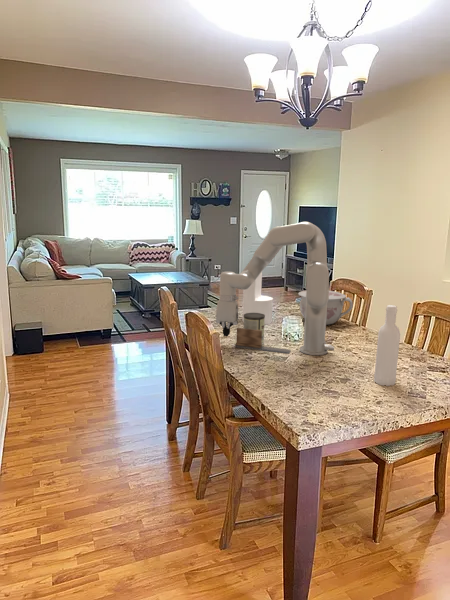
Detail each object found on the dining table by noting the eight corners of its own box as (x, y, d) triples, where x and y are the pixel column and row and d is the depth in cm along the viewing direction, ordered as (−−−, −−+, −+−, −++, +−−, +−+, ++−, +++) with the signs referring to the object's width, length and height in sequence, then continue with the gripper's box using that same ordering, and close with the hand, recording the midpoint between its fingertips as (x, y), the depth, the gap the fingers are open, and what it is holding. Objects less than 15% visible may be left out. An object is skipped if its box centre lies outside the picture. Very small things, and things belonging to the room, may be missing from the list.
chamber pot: (287, 319, 269) (289, 284, 265) (324, 315, 280) (326, 282, 276) (315, 330, 244) (317, 293, 240) (355, 326, 255) (357, 290, 251)
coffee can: (243, 339, 224) (244, 312, 222) (264, 340, 224) (265, 313, 221) (242, 345, 214) (242, 317, 212) (263, 346, 213) (264, 317, 211)
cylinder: (239, 323, 256) (240, 274, 251) (246, 316, 272) (247, 270, 267) (268, 326, 251) (270, 276, 246) (274, 319, 268) (276, 272, 262)
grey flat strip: (290, 351, 207) (290, 349, 207) (288, 353, 204) (289, 352, 204) (237, 345, 215) (237, 343, 215) (235, 347, 212) (235, 345, 212)
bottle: (378, 376, 178) (385, 302, 172) (398, 381, 173) (406, 305, 167) (370, 382, 172) (377, 306, 166) (391, 387, 167) (399, 309, 161)
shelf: (261, 346, 211) (262, 329, 209) (260, 348, 208) (261, 331, 207) (237, 343, 215) (238, 327, 213) (235, 345, 212) (236, 328, 210)
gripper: (245, 298, 212) (243, 335, 215) (215, 295, 216) (214, 331, 220) (240, 301, 205) (238, 339, 208) (209, 297, 209) (208, 335, 213)
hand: (226, 335), depth 214 cm, fingers closed
